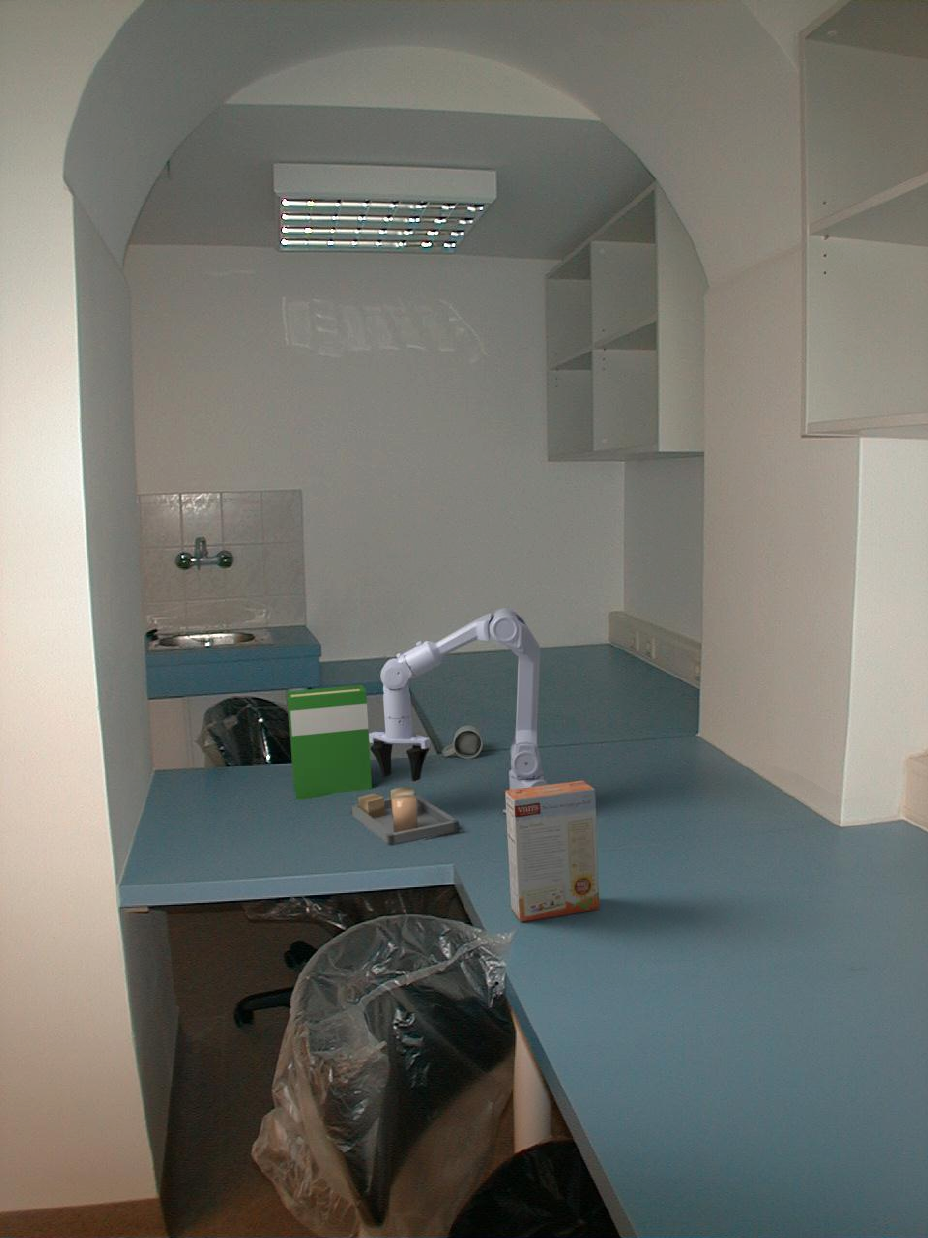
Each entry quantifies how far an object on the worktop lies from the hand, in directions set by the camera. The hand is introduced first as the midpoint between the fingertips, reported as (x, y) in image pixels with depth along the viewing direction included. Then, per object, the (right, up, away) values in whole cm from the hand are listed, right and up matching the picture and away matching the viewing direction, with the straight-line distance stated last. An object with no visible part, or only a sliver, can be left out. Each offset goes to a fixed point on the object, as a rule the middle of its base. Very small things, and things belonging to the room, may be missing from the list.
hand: (401, 777), depth 217 cm
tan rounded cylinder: (+1, -9, -7) cm, 12 cm away
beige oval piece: (0, -8, +1) cm, 9 cm away
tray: (+1, -9, -3) cm, 10 cm away
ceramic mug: (+13, -2, +48) cm, 50 cm away
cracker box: (+28, -15, -48) cm, 57 cm away
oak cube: (-6, -9, +2) cm, 11 cm away
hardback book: (-18, -7, +23) cm, 30 cm away
